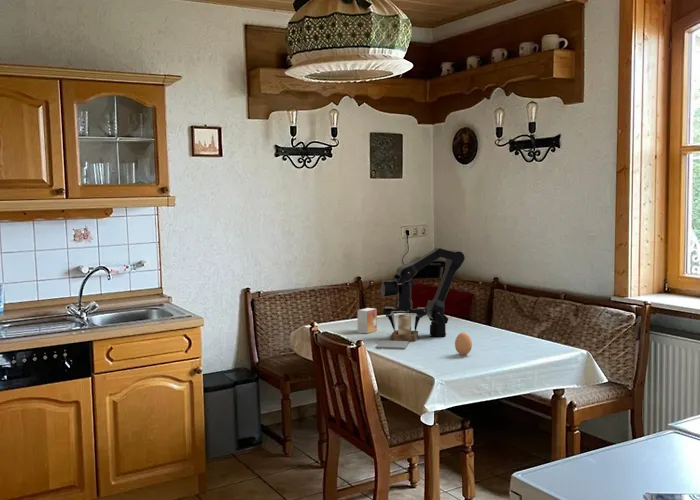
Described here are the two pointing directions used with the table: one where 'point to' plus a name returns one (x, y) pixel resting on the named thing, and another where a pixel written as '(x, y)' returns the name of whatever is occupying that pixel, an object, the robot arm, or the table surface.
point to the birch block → (404, 325)
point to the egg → (463, 343)
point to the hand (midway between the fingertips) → (404, 330)
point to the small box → (367, 320)
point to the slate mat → (392, 344)
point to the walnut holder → (404, 336)
